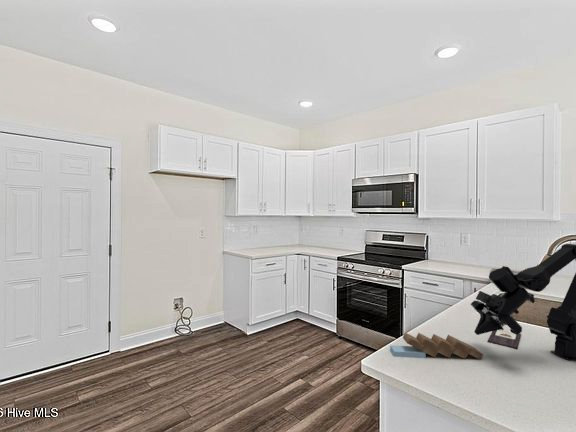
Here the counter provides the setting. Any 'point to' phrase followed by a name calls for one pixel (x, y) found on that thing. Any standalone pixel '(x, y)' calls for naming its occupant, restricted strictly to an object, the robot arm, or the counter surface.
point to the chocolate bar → (504, 338)
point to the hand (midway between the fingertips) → (475, 333)
